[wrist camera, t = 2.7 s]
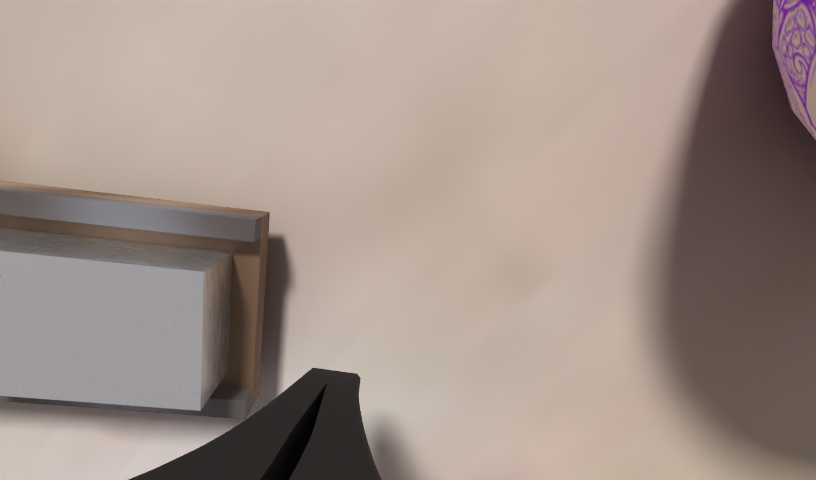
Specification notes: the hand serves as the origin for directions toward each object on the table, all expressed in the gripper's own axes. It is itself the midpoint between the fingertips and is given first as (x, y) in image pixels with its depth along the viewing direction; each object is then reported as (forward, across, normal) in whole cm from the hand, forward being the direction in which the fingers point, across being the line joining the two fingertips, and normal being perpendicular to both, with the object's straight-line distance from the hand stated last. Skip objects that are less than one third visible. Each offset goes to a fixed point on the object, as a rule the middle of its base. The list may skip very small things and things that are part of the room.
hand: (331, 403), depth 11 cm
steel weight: (+4, +9, 0) cm, 10 cm away
